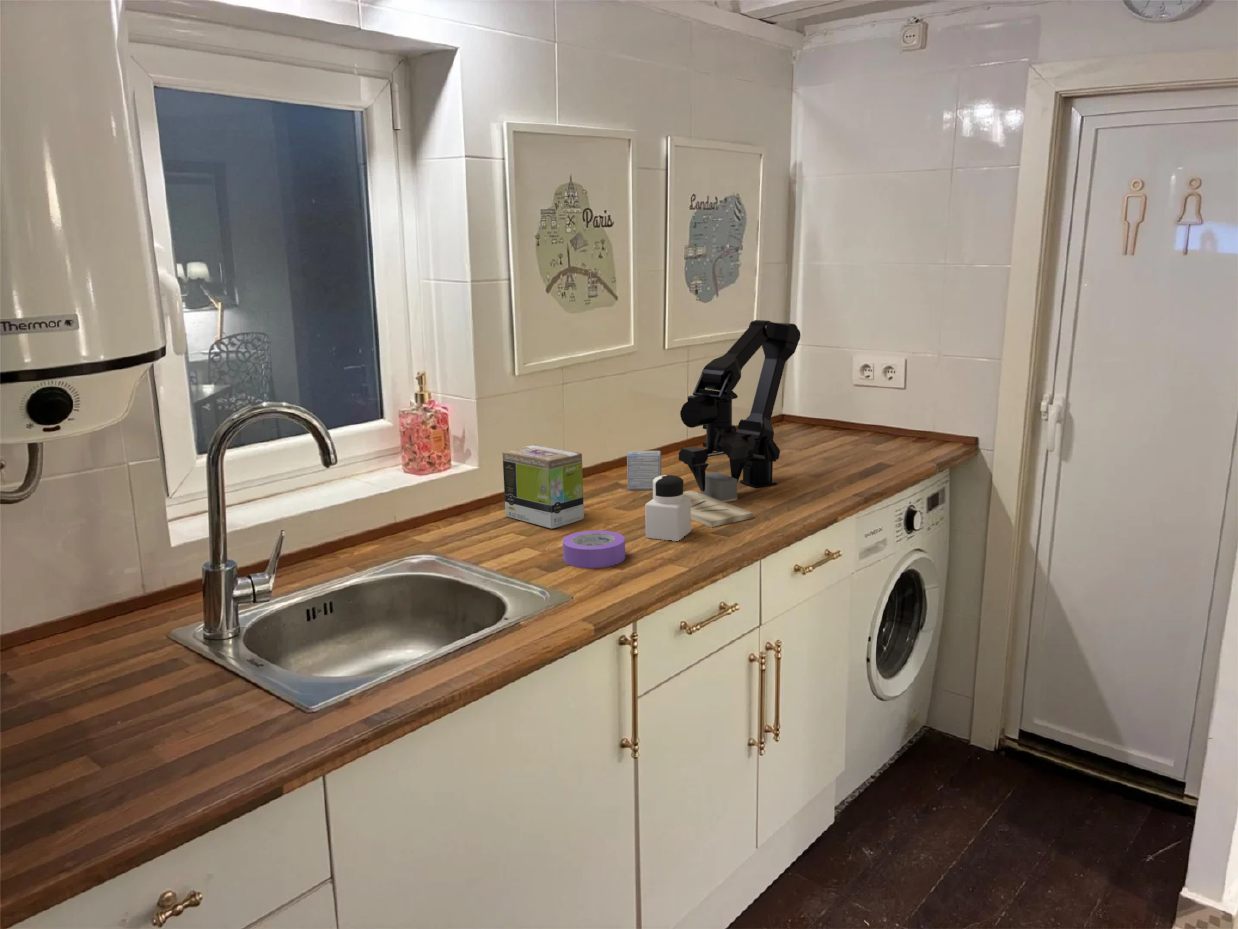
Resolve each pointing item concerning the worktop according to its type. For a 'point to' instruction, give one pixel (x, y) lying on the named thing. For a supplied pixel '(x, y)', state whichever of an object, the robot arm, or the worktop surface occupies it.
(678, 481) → the medicine bottle
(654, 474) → the medicine box
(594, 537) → the masking tape
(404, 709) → the worktop surface
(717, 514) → the board
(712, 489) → the block
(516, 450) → the tea box
